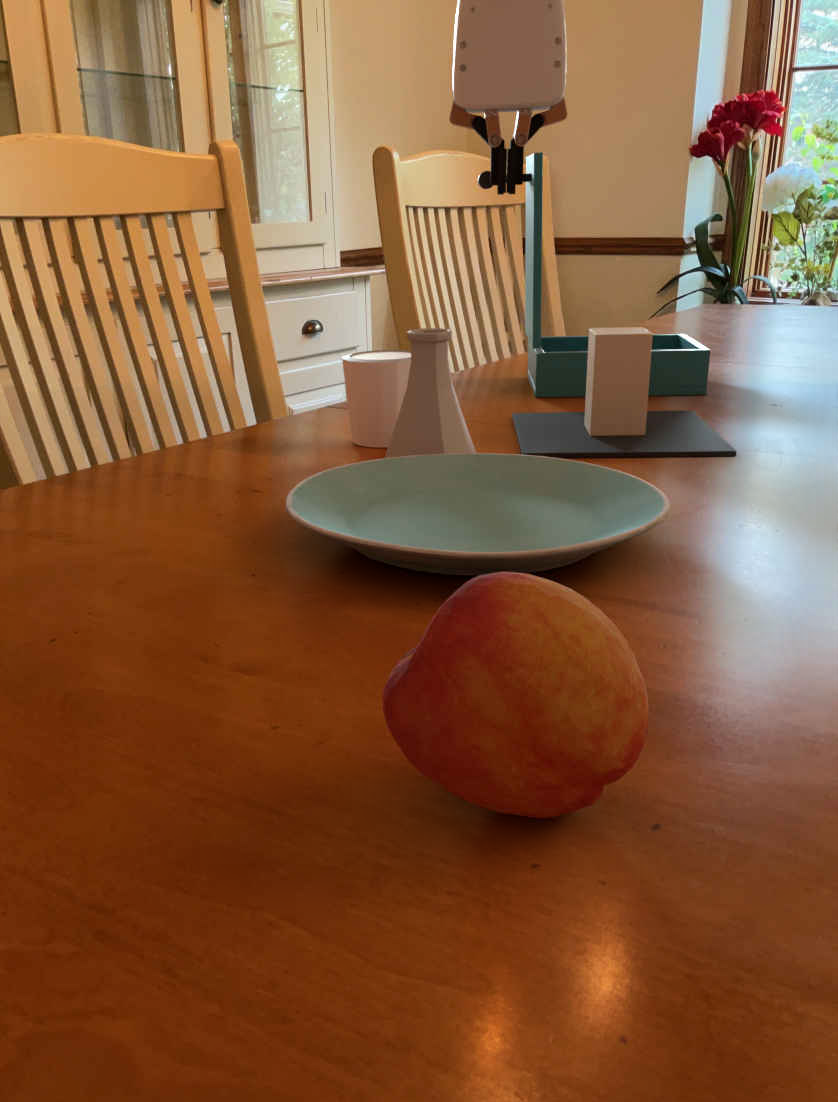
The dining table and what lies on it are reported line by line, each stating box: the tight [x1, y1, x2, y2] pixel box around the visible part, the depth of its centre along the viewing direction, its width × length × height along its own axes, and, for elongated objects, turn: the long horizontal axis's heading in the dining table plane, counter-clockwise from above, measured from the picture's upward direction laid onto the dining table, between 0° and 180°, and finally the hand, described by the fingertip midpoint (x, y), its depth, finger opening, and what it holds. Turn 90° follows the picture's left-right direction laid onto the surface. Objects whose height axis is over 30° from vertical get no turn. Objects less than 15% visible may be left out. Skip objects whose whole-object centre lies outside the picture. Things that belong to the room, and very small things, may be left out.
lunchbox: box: [526, 333, 711, 398], centre depth 108 cm, size 17×13×4 cm
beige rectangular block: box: [584, 326, 654, 436], centre depth 85 cm, size 4×4×8 cm
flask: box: [384, 327, 477, 458], centre depth 76 cm, size 7×7×10 cm
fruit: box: [382, 572, 650, 819], centre depth 34 cm, size 8×8×8 cm
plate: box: [284, 452, 671, 577], centre depth 62 cm, size 22×22×3 cm
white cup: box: [341, 349, 411, 449], centre depth 86 cm, size 7×7×7 cm
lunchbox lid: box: [477, 152, 544, 349], centre depth 104 cm, size 17×13×6 cm
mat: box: [512, 409, 737, 459], centre depth 87 cm, size 16×16×1 cm
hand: (506, 193), depth 98 cm, fingers closed
